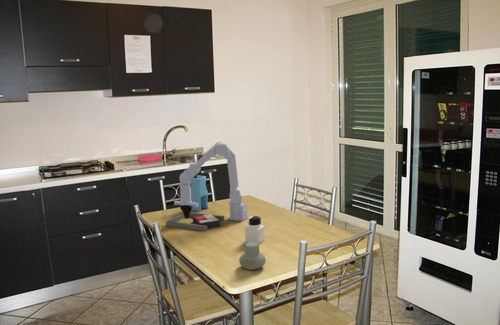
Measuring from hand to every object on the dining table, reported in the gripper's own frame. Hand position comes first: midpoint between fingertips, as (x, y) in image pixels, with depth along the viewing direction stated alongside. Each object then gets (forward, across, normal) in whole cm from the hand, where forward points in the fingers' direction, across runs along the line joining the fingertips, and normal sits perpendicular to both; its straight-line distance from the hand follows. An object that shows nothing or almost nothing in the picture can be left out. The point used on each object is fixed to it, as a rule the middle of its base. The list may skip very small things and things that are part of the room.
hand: (187, 218), depth 254 cm
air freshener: (+2, +60, -44) cm, 75 cm away
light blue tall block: (+2, -7, +25) cm, 26 cm away
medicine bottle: (+2, +48, -15) cm, 50 cm away
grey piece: (+2, +6, 0) cm, 6 cm away
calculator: (+3, +12, 0) cm, 12 cm away
